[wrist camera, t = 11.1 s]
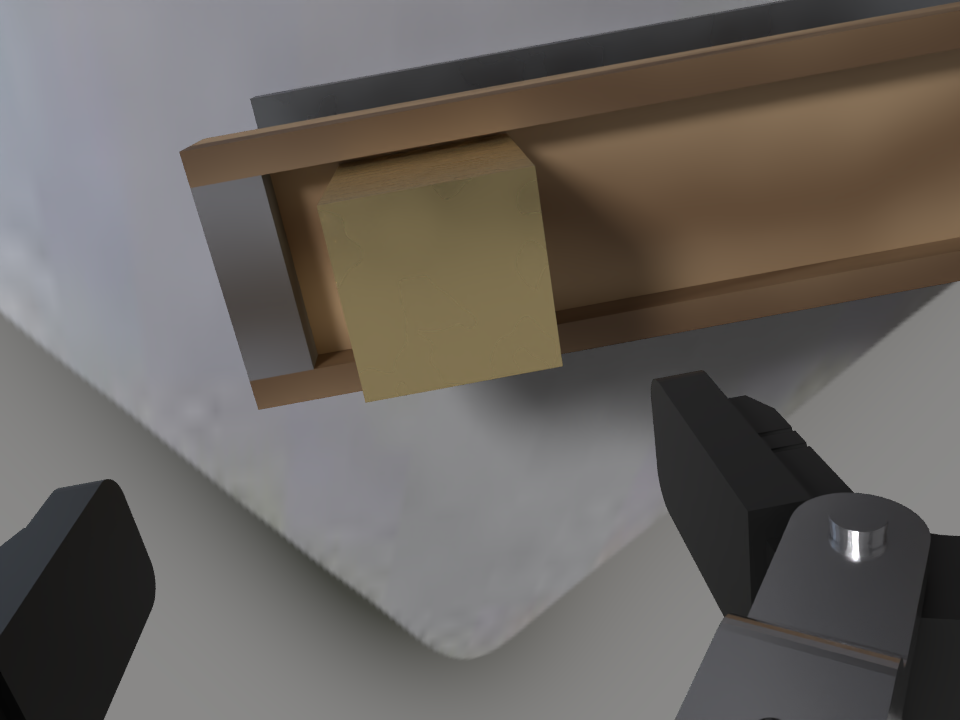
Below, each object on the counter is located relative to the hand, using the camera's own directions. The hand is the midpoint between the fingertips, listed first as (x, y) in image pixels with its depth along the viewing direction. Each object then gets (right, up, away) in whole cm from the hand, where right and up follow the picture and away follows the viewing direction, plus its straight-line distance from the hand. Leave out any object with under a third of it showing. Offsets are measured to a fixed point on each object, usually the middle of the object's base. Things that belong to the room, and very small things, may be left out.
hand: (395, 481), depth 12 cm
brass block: (0, +6, +13) cm, 14 cm away
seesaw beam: (+8, +8, +14) cm, 18 cm away
